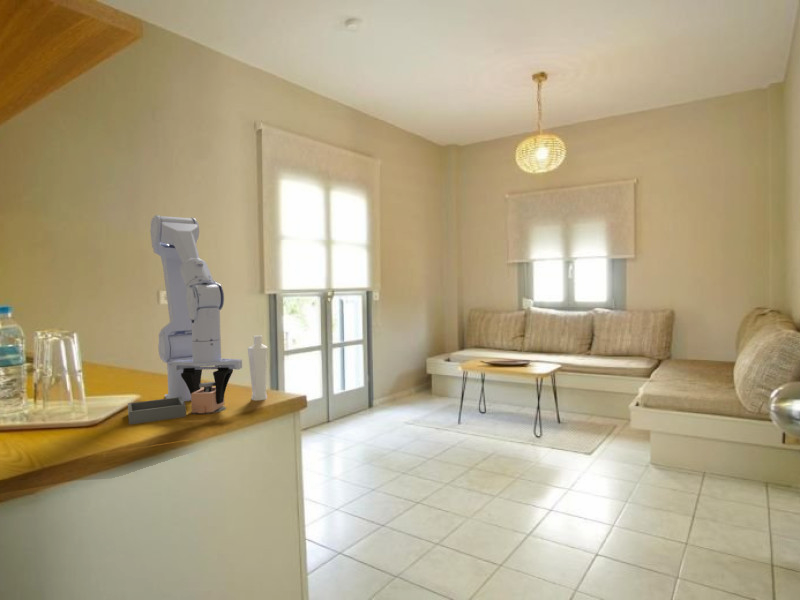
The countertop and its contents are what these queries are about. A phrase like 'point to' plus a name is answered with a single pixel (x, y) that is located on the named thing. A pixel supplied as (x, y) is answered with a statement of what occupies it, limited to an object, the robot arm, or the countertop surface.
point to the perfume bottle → (258, 368)
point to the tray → (156, 410)
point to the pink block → (204, 401)
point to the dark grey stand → (207, 389)
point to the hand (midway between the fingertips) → (208, 402)
